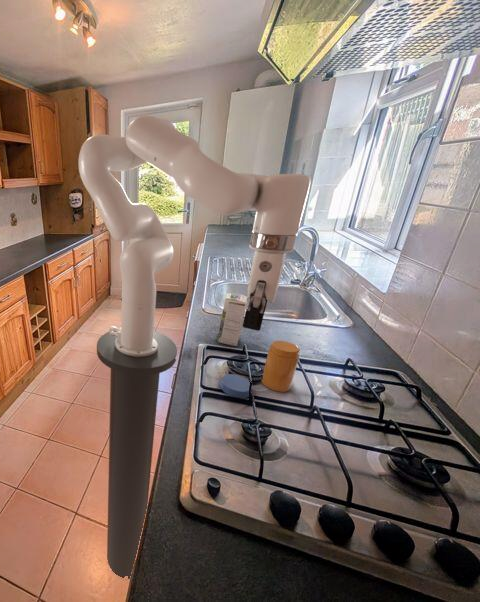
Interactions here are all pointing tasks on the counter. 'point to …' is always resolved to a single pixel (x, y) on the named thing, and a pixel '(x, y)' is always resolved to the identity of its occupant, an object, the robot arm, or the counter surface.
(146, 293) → the robot arm
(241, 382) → the honey lid
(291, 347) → the honey jar
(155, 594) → the counter surface
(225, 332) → the syrup box
